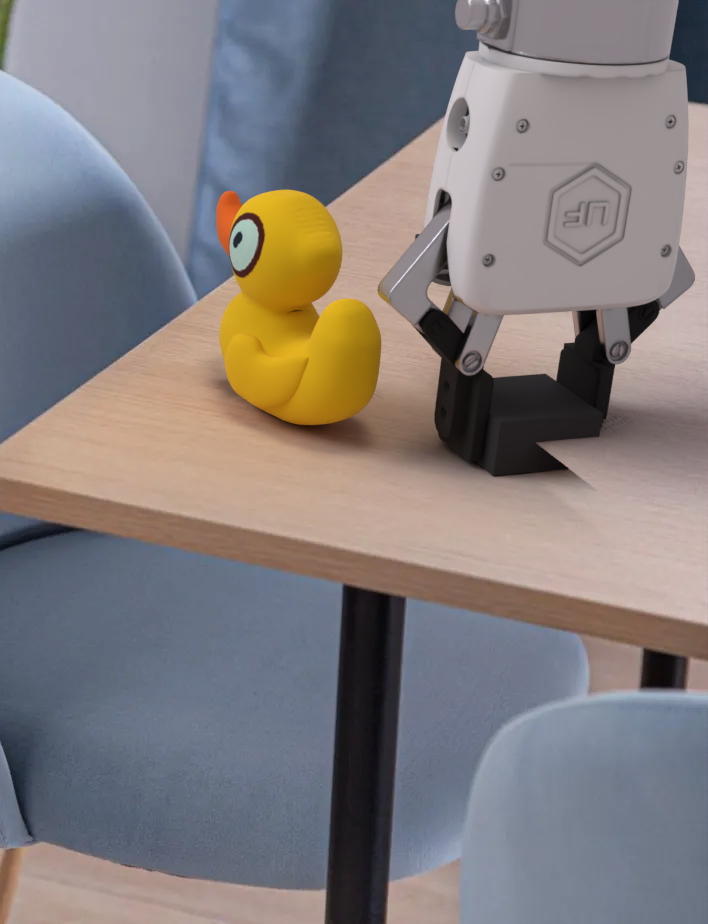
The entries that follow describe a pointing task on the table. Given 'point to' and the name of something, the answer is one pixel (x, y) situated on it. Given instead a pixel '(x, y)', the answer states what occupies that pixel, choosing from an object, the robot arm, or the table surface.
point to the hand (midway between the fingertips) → (517, 440)
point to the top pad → (533, 423)
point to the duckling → (293, 312)
